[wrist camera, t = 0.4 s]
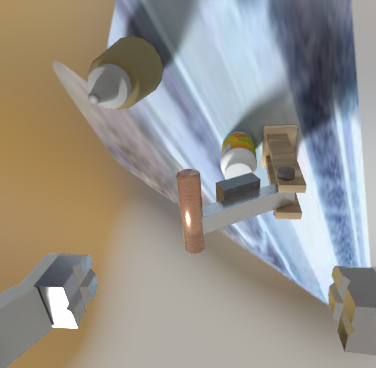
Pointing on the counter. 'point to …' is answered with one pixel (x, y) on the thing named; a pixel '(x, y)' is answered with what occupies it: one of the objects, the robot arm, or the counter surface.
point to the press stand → (283, 166)
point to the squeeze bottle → (124, 73)
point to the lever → (223, 204)
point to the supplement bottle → (238, 155)
